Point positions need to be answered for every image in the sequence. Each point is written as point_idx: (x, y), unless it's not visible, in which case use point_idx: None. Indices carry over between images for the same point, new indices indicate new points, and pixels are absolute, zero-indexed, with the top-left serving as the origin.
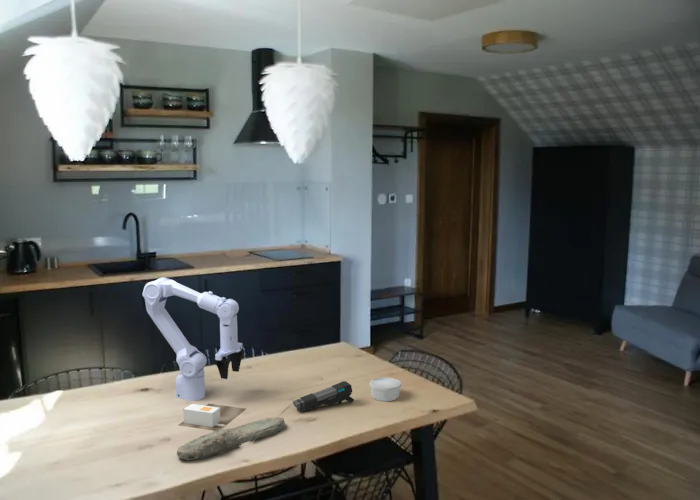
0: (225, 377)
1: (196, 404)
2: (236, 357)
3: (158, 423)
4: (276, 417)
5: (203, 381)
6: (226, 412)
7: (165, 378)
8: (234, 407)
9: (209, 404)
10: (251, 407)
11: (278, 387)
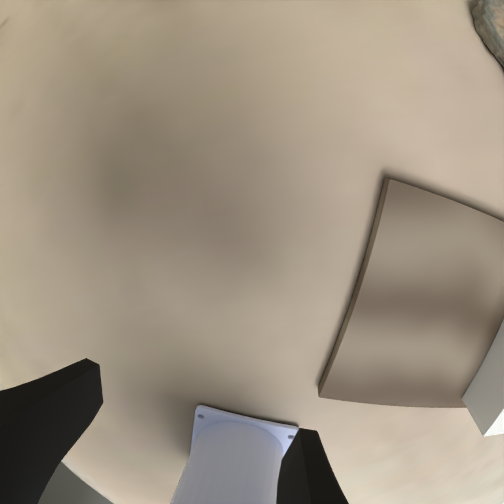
0: (319, 446)
1: (498, 417)
2: (14, 462)
3: (445, 456)
4: (498, 17)
5: (227, 487)
6: (438, 282)
7: (111, 488)
8: (374, 257)
9: (330, 391)
10: (319, 162)
11: (44, 119)
